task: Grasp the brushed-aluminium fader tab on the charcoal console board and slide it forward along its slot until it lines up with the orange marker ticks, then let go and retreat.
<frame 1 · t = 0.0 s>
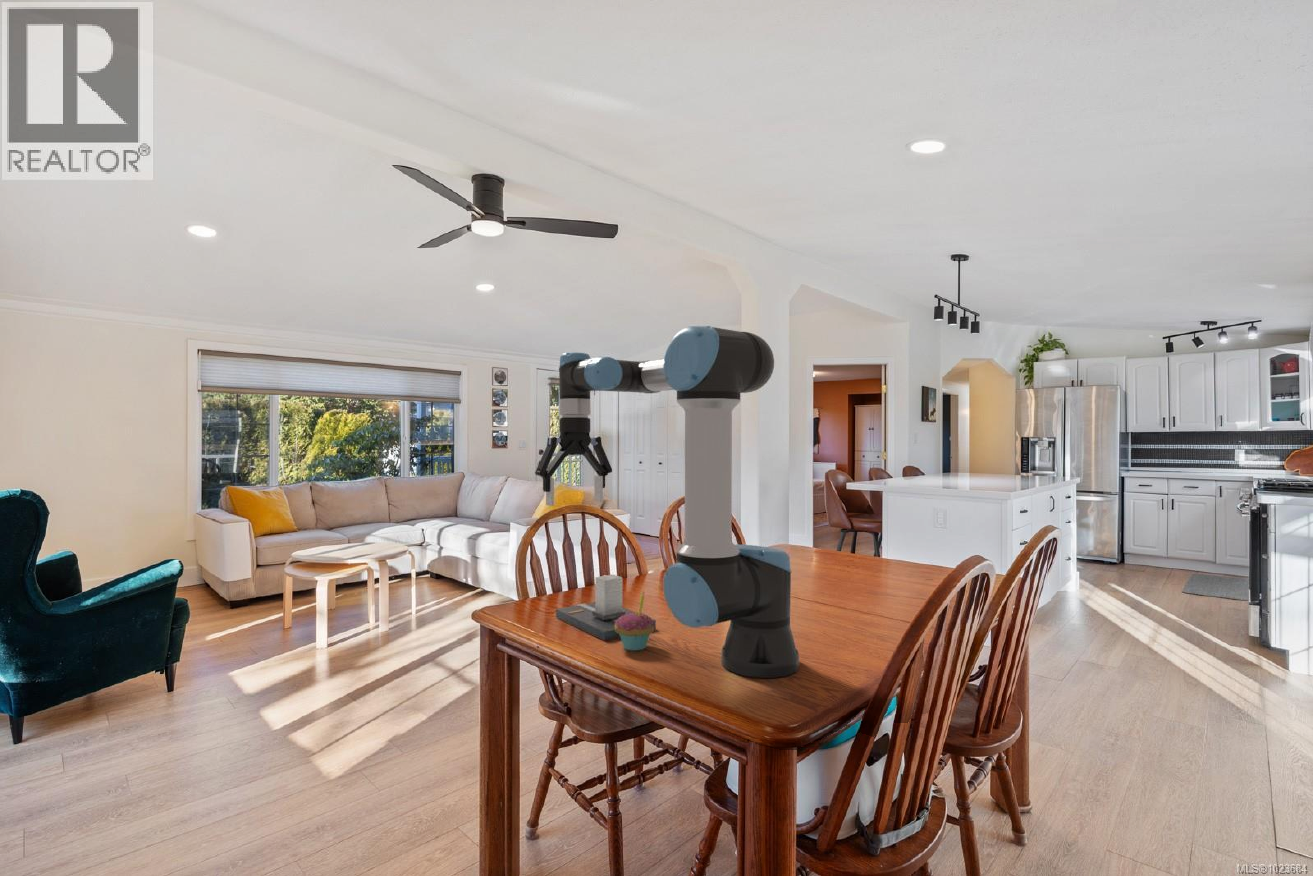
hand: (574, 503, 156), 28 cm above the table, fingers open, 13 cm apart
cupcake: (634, 648, 136), on the table
fader: (608, 596, 151), point 7 cm above the table, slide at 0.0 cm
console board: (604, 623, 152), on the table
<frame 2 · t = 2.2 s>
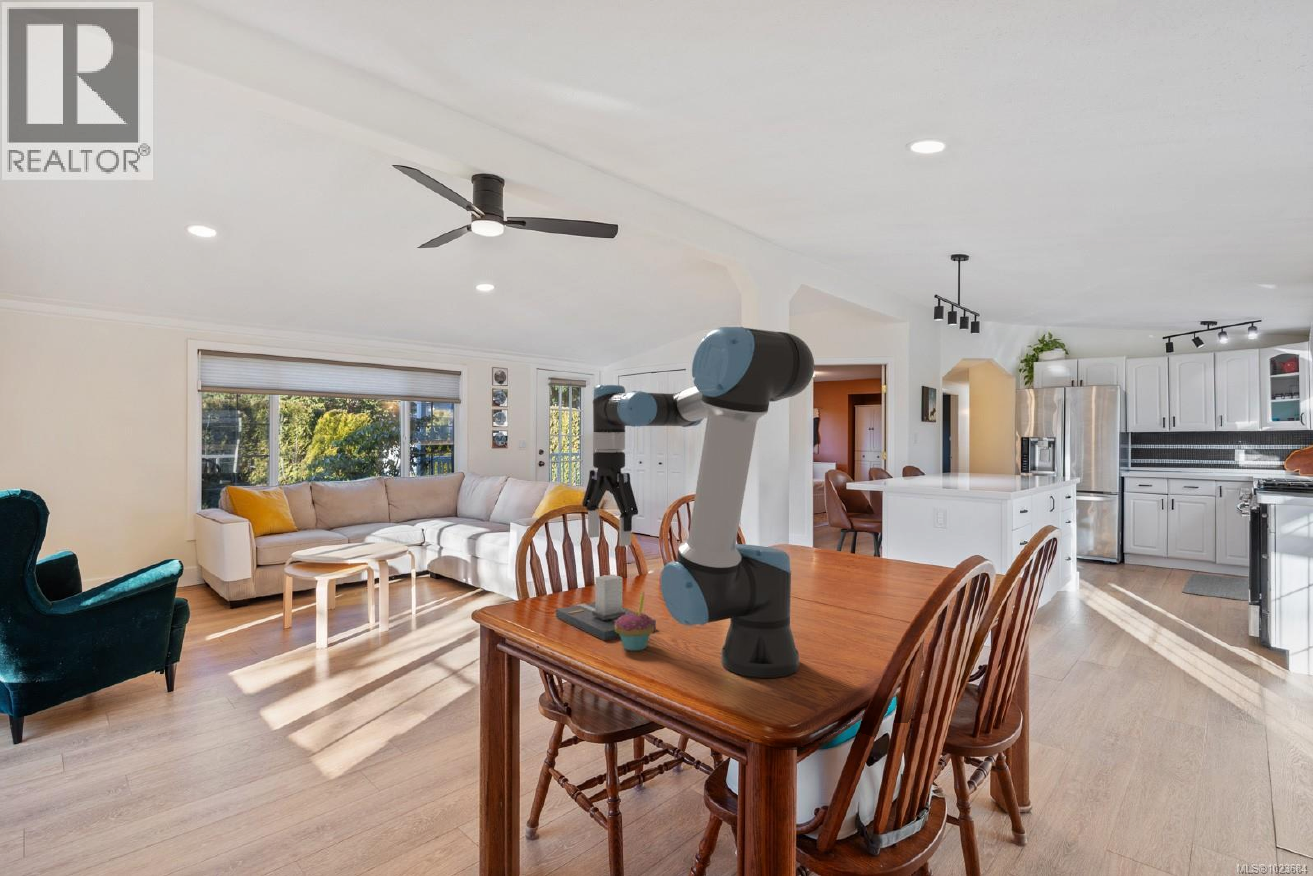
hand: (608, 541, 151), 20 cm above the table, fingers open, 13 cm apart
nothing on the table moved.
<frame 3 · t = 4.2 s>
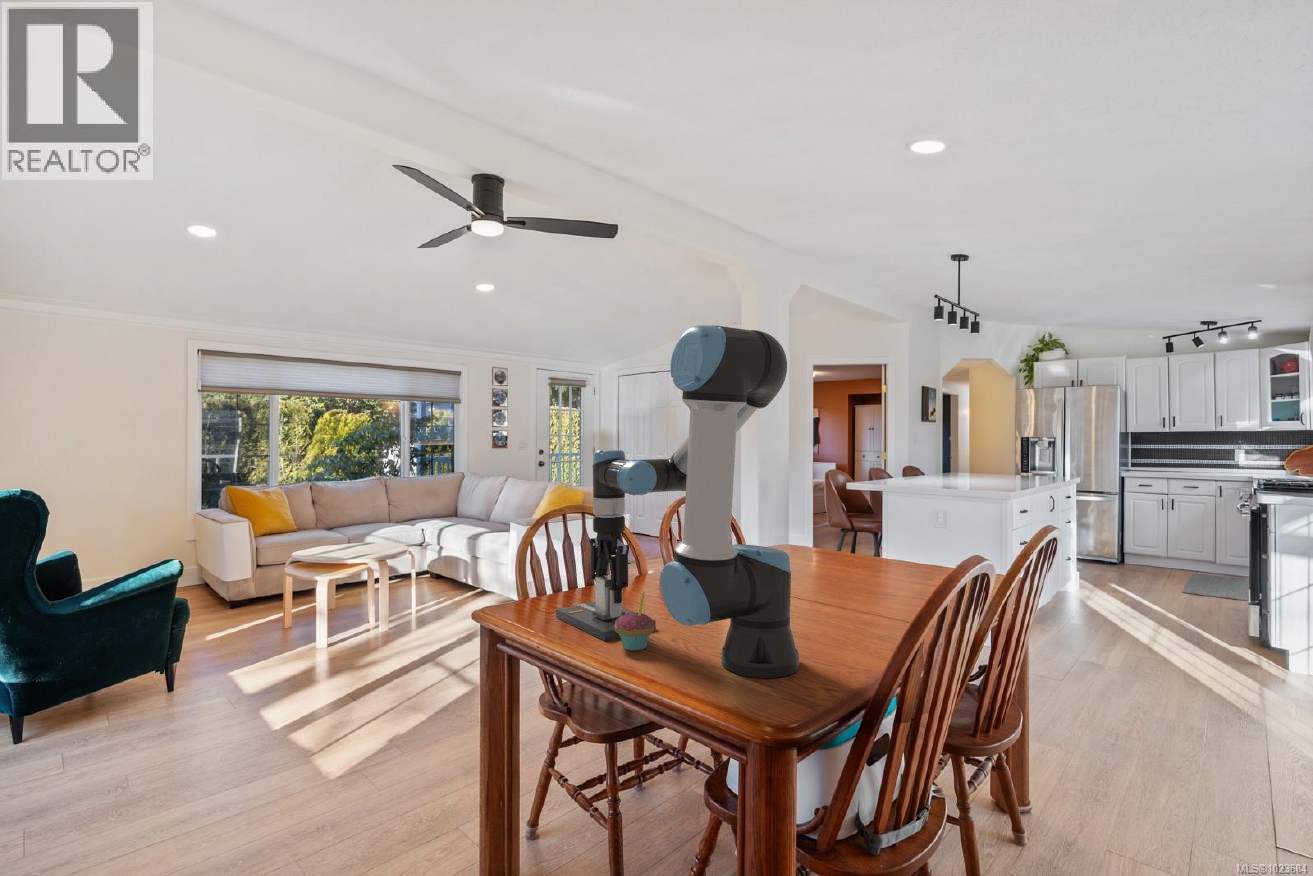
hand: (608, 613, 151), 3 cm above the table, fingers closed on fader, 5 cm apart
fader: (608, 596, 151), point 7 cm above the table, slide at 0.0 cm, touching gripper
everything else where it was.
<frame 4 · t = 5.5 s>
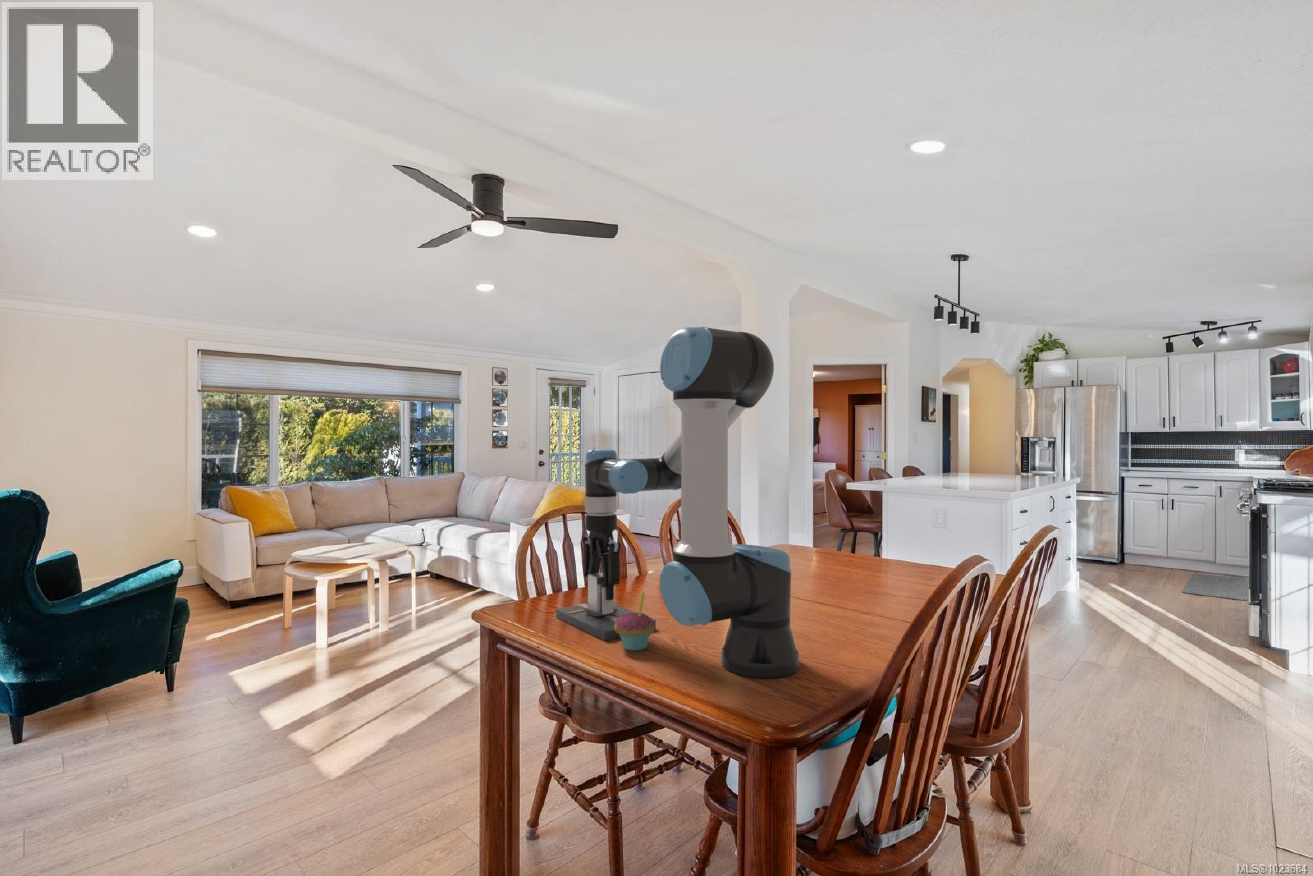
hand: (601, 610, 153), 3 cm above the table, fingers closed on fader, 5 cm apart
fader: (601, 593, 153), point 7 cm above the table, slide at 3.4 cm, touching gripper
everything else where it was.
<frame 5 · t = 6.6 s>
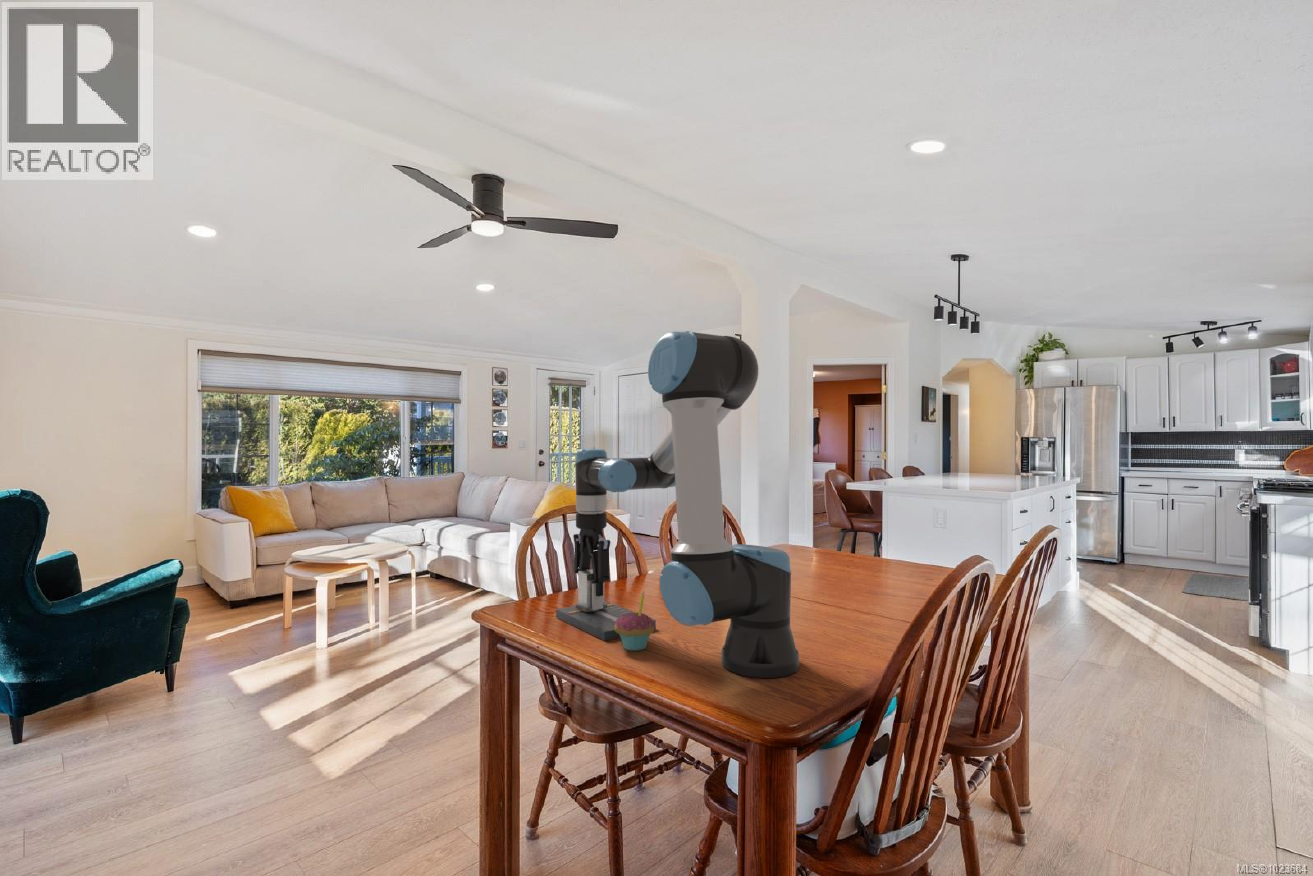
hand: (591, 606, 157), 3 cm above the table, fingers closed on fader, 5 cm apart
fader: (591, 589, 157), point 7 cm above the table, slide at 7.9 cm, touching gripper
everything else where it was.
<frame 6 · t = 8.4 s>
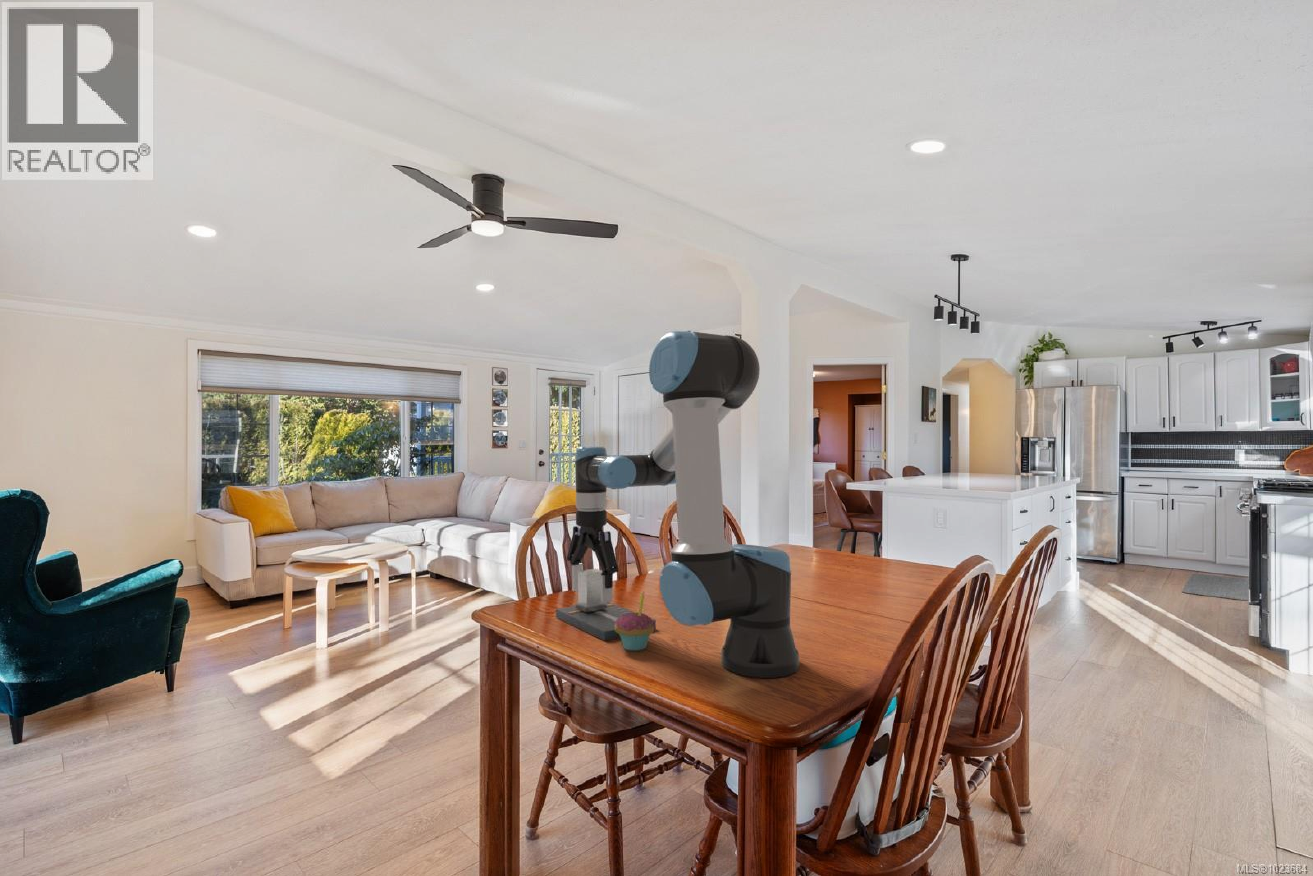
hand: (591, 595, 157), 5 cm above the table, fingers open, 13 cm apart
fader: (591, 589, 157), point 7 cm above the table, slide at 8.0 cm
everything else where it was.
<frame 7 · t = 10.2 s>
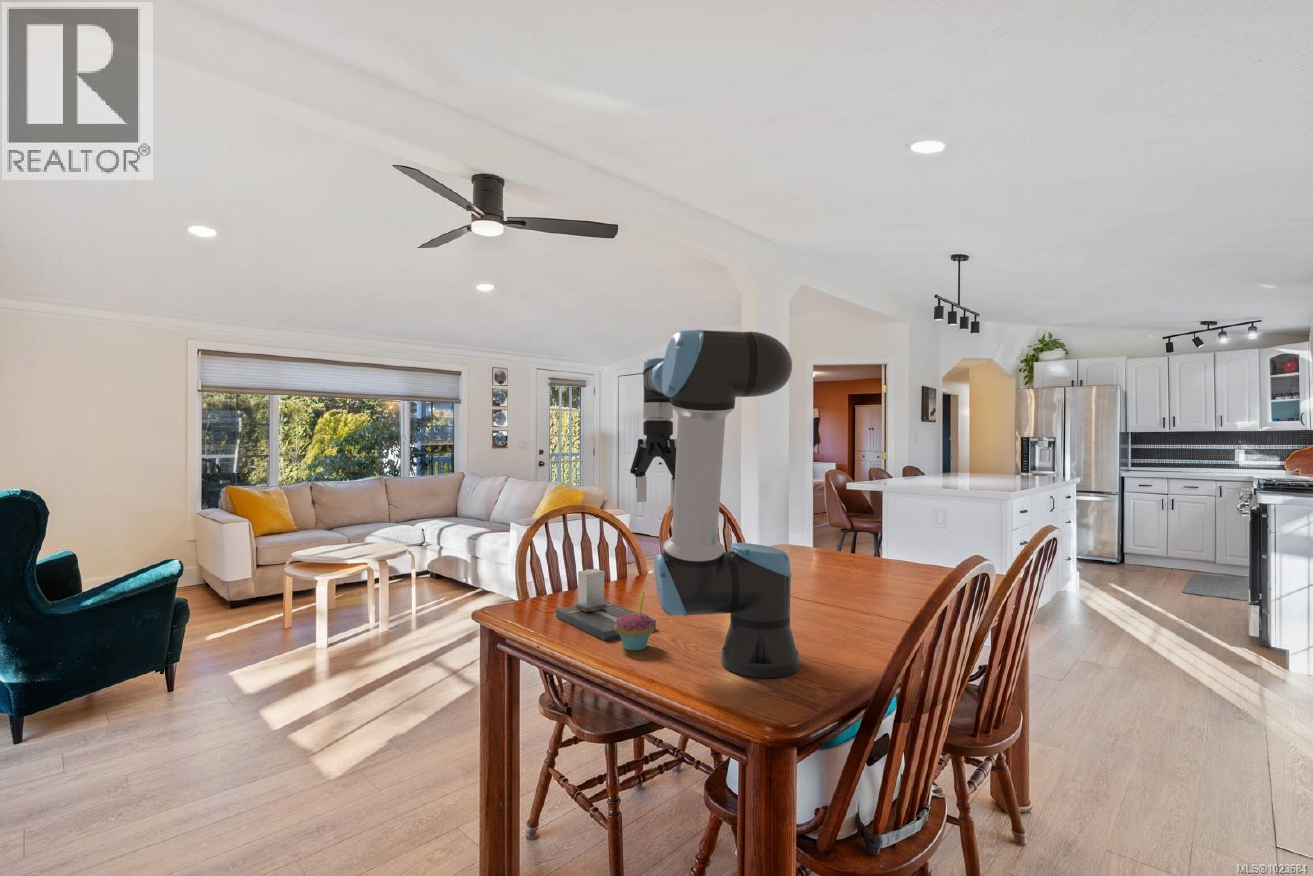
hand: (658, 504, 162), 27 cm above the table, fingers open, 13 cm apart
nothing on the table moved.
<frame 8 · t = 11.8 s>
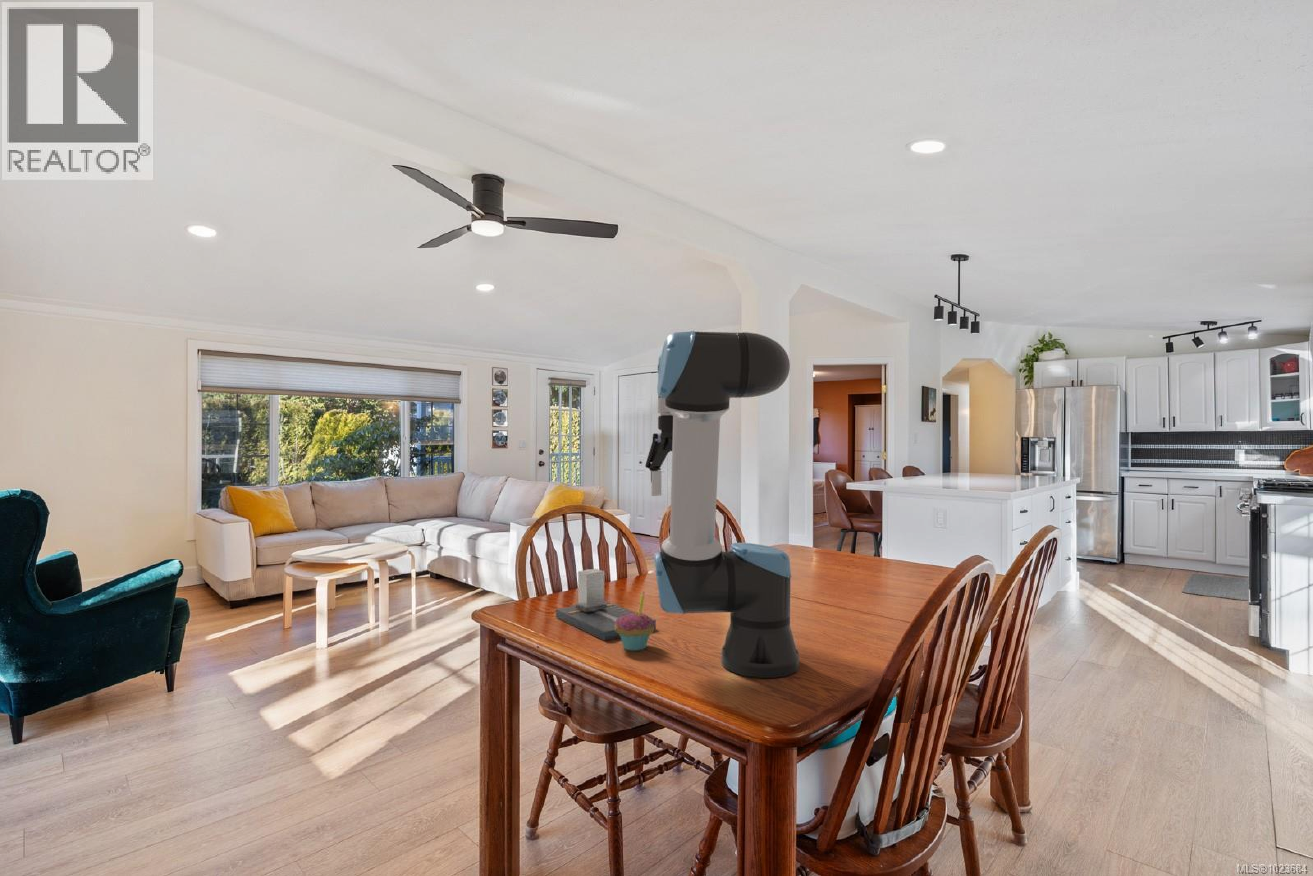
hand: (672, 498, 163), 29 cm above the table, fingers open, 13 cm apart
nothing on the table moved.
at the end: fader slide at 8.0 cm; the gripper is holding nothing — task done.
